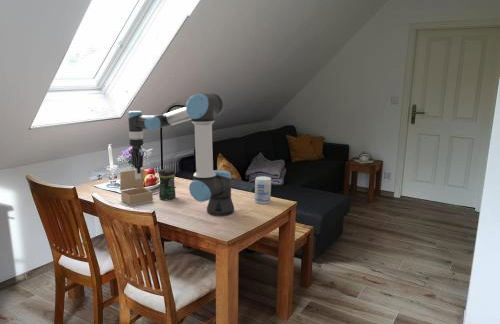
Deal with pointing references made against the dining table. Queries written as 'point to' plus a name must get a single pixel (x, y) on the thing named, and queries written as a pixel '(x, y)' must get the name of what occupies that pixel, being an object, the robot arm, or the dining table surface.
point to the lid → (130, 179)
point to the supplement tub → (262, 189)
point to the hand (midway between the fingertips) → (138, 178)
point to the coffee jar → (167, 184)
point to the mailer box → (136, 196)
